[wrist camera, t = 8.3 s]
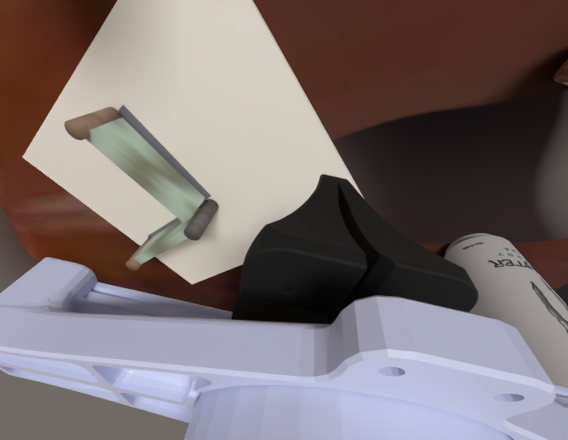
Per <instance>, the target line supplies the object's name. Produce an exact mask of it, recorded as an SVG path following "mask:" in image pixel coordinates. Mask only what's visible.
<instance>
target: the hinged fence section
mask: <svg viewBox="0 0 568 440" xmlns="http://www.w3.org/2000/svg"><path fill="white" fill-rule="evenodd" d="M64 127H65V129H66V131H67V132H68V134H69V135H70V136H71V137H73V138H74V139H77V140H84V139H86V140H87V141H88V142H90V143H91V144H92V145H93V146H94V147H95V148H97V149H98V150H99V151H100V152H101V153H102V154H104V155H105V156H106V157H107V158H108V159H109V160H111V161H112V162H113V163H114V164H115V165H116V166H118V167H119V168H120V169H121V170H122V171H124V172H125V173H126V174H127V175H128V176H129V177H131V178H132V179H133V180H134V181H135V182H136V183H138V184H139V185H140V186H141V187H142V188H143V189H145V190H146V191H147V192H148V193H149V194H150V195H152V196H153V197H154V198H155V199H156V200H157V201H159V202H160V203H161V204H162V205H163V206H164V207H166V208H167V209H168V210H169V211H170V212H171V213H173V214H174V215H175V216H176V217H177V218H179V219H180V220H181V221H182V222H183V223H184V222H186V221H187V220H189V219H190V218H191V217H192V216H193V214H194V213H195V211H196V210H197V209H198V207H199V206H200V205H201V203H202V202H203V201H204V199H205V197H204V196H203V195H202V194H201V193H200V192H199V191H198V190H197V189H196V188H195V187H194V186H193V185H192V184H190V183H189V182H188V181H187V180H186V179H185V178H184V177H183V176H182V175H181V174H180V173H179V172H178V171H177V170H176V169H175V168H174V167H173V166H172V165H171V164H170V163H169V162H168V161H167V160H166V159H165V158H164V157H163V156H162V155H160V154H159V153H158V152H157V151H156V150H155V149H154V148H153V147H152V146H151V145H150V144H149V143H148V142H147V141H146V140H145V139H144V138H143V137H142V136H141V135H140V134H139V133H138V132H137V131H136V130H135V129H134V128H133V127H132V126H130V125H129V124H128V123H127V122H126V121H125V120H124V119H123V118H122V116H121V114H120V113H119V111H118V110H116V109H115V108H113V107H107V108H104V109H101V110H98V111H95V112H92V113H89V114H86V115H83V116H80V117H77V118H74V119H70V120H67V121H65V123H64Z"/></svg>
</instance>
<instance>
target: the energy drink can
mask: <svg viewBox="0 0 568 440" xmlns="http://www.w3.org/2000/svg"><path fill="white" fill-rule="evenodd" d="M444 259H446V260H448V261H450V262H452V263H454V264H456V265H458V266H460V267H462V268H464V269H465V270H466V272H467V273H468V275H469V277H470V279H471V280H472V282H473V284H474V285H475V287H476V289H477V290H478V298H479V299H478V301H477V303H476V305H475V306H474V307H473V308H472V309H471V310H470V311H469V313H473V314H477V315H482V316H486V317H491V318H494V319H497V320H500V321H502V322H504V323H506V324H509V325H511V326H513V327H515V328H517V330H518V331H519V333H520V334H521V336H522V337H523V339H524V340H525V342H526V344H527V345H528V347H529V348H530V350H531V351H532V353H533V354H534V356H535V357H536V359H537V360H538V362H539V363H540V365H541V366H542V368H543V369H544V371H545V372H546V374H547V375H548V377H549V378H550V380H551V382H552V383H553V384H555V385H559V386H564V387H568V306H567V305H566V304H565V303H564V302H563V301H562V299H561V298H560V297H559V296H558V295H557V294H556V293H555V292H554V291H553V289H552V288H551V287H550V286H549V285H548V284H547V283H546V282H545V281H544V279H543V278H542V277H541V276H540V275H539V274H538V273H537V272H536V271H535V269H534V268H533V267H532V266H531V265H530V264H529V263H528V262H527V261H526V259H525V258H524V257H523V256H522V255H521V254H520V253H519V252H518V251H517V250H516V248H515V247H514V246H513V245H512V244H511V243H510V242H509V241H508V240H506V239H504V238H501V237H497V236H493V235H490V234H485V233H478V234H471V235H467V236H464V237H462V238H459V239H458V240H456V241H454V242H453V243H452V244H451V245H450V246H449V247H448V248H447V250H446V253H445V257H444Z"/></svg>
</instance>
